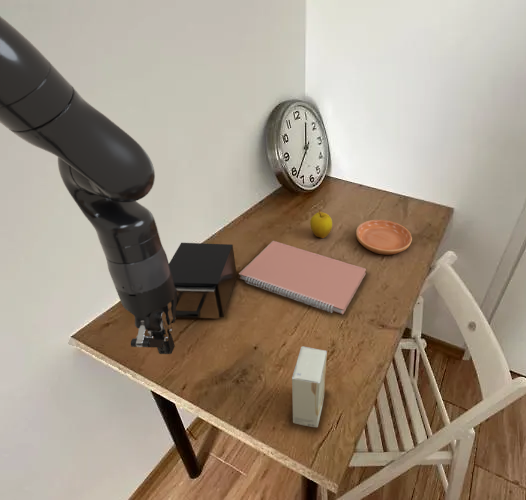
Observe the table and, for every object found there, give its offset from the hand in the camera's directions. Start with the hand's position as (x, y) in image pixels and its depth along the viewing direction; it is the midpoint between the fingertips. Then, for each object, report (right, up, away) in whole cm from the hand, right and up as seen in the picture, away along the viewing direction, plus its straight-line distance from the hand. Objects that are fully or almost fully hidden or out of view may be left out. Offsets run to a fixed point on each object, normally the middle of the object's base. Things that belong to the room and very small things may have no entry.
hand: (167, 350), depth 62 cm
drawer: (0, +6, +16) cm, 17 cm away
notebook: (+21, +11, +26) cm, 35 cm away
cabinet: (-1, +7, +19) cm, 21 cm away
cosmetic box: (+25, -10, -1) cm, 27 cm away
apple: (+25, +22, +42) cm, 53 cm away
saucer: (+43, +20, +41) cm, 62 cm away
